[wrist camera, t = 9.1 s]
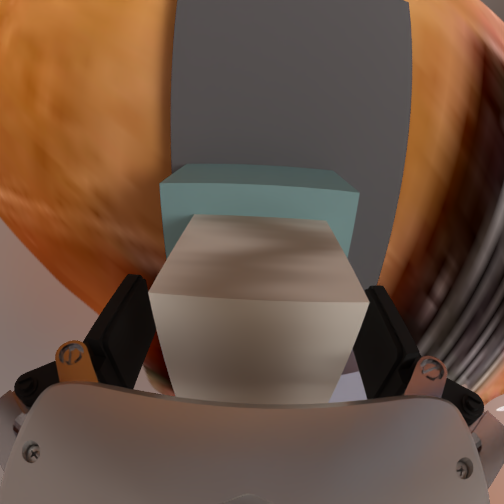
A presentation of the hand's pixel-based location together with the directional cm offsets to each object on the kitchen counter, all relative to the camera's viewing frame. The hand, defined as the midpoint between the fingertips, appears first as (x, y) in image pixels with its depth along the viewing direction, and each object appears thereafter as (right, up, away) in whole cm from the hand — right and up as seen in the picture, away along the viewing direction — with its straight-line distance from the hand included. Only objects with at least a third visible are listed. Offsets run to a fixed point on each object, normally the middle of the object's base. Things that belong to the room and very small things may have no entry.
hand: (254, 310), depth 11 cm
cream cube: (0, +1, +2) cm, 3 cm away
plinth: (0, +4, +7) cm, 8 cm away
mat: (+2, +9, +5) cm, 11 cm away
